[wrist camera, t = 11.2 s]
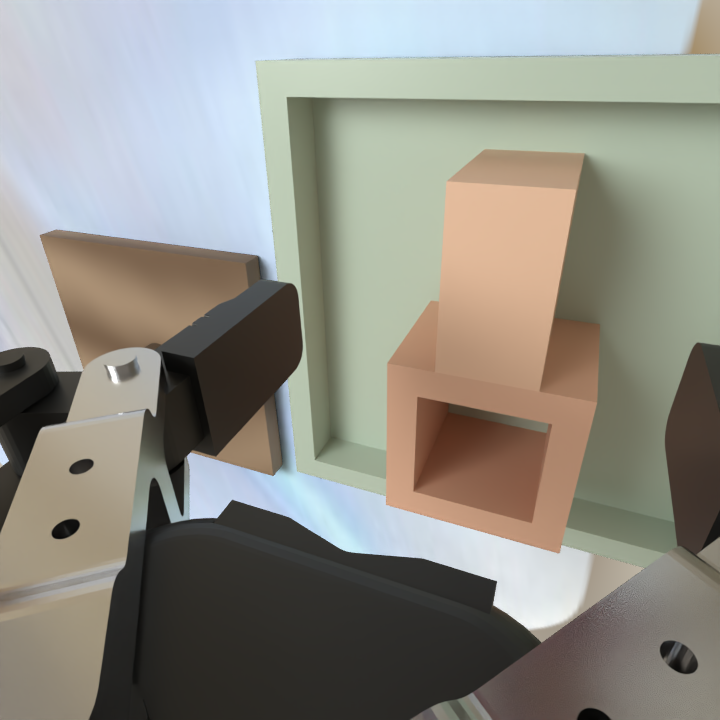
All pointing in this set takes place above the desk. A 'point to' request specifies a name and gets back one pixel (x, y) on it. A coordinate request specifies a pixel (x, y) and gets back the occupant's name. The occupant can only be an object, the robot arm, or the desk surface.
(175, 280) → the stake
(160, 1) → the desk surface
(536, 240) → the orange block with hole
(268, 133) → the tray
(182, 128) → the desk surface
